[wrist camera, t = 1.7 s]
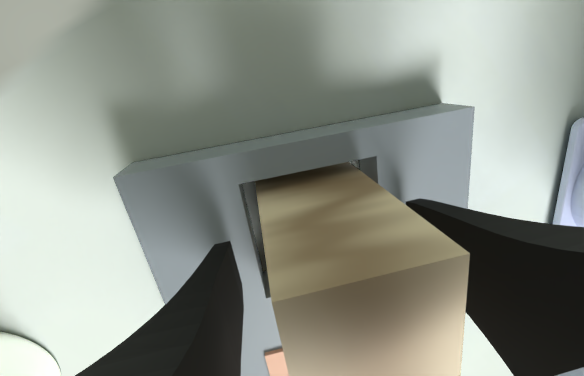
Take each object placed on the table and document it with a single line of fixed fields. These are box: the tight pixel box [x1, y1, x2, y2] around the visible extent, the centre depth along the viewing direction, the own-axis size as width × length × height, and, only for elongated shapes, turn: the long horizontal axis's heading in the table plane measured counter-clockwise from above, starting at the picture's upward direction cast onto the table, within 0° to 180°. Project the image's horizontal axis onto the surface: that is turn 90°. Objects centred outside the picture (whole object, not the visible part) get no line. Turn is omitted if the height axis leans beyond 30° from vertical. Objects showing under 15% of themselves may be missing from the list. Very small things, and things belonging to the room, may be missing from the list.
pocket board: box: [113, 103, 475, 376], centre depth 15 cm, size 14×18×2 cm
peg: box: [255, 162, 470, 376], centre depth 11 cm, size 4×4×8 cm
